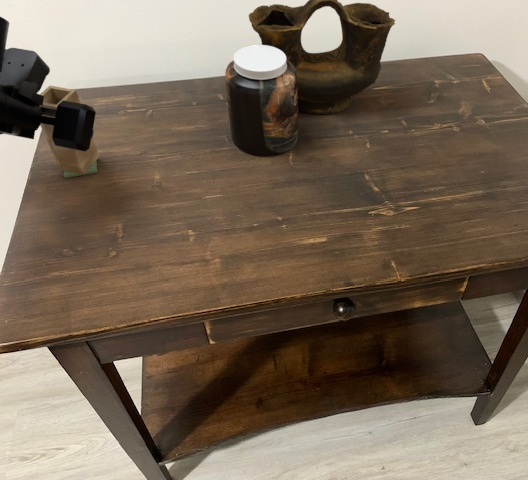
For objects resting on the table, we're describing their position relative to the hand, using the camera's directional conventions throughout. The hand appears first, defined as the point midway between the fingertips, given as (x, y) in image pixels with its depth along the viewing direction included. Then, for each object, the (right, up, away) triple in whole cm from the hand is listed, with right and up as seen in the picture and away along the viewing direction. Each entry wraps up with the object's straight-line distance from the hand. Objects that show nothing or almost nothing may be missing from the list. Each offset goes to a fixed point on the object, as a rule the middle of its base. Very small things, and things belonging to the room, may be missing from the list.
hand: (65, 128), depth 82 cm
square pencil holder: (0, -4, +5) cm, 7 cm away
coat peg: (0, -5, +6) cm, 8 cm away
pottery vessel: (+39, +9, +21) cm, 45 cm away
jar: (+29, +1, +13) cm, 32 cm away
